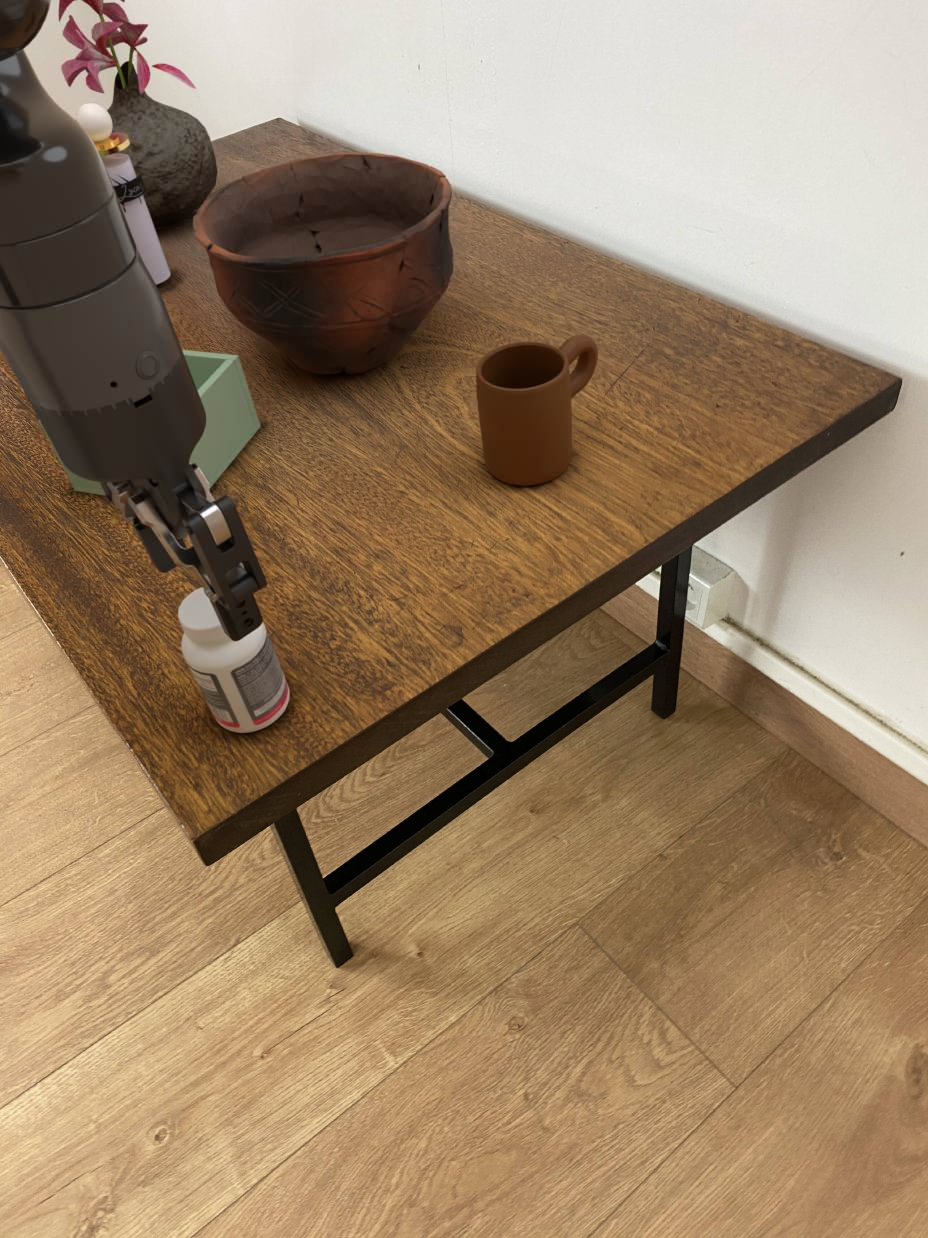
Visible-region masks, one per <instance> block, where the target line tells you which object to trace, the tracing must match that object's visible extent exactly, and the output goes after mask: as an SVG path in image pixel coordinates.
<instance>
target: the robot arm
mask: <svg viewBox="0 0 928 1238" xmlns="http://www.w3.org/2000/svg"><path fill="white" fill-rule="evenodd" d="M51 3H52V0H0V350H1V351H2V353H3V355H4V357H5V359H6V361H7V363H8V365H9V366H10V368H11V370H12V372H13V374H14V375H15V377H16V379H17V381H18V383H19V385H20V387H21V389H22V390H23V392H24V395H25V396H26V398H27V400H28V402H29V404H30V405H31V407H32V409H33V412H34V413H35V414H36V416H37V418H38V421H39V420H40V422H41V423H42V425H43V427H44V429H45V431H46V433H47V435H48V436H49V438H50V440H51V442H52V444H53V446H54V447H55V449H56V451H57V453H58V455H59V457H60V459H61V460H62V462H63V464H64V465H65V466H66V467H67V468H68V469H69V470H70V471H71V472H72V473H74V474H75V475H77V476H79V477H81V478H84V479H87V480H91V481H96V482H100V484H101V486H102V488H103V490H104V492H105V496H104V497H105V499H106V500H107V502H108V503H110V504H112V505H113V506H114V507H115V506H116V508H117V509H118V510H119V512H120V513H121V514H122V518H123V520H124V521H125V522H126V523H127V524H129V525H130V526H131V527H133V529H134V530H135V532H136V533H137V536H138V538H139V540H140V542H141V543H142V545H143V547H144V549H145V552H146V553H147V555H148V558H149V559H150V561H151V564H152V565H153V567H154V568H155V569H156V570H157V571H158V572H160V573H162V574H165V573H168V572H170V571H171V570H173V569H175V568H176V567H179V568H180V569H181V568H187V569H189V570H190V571H191V573H192V574H193V575H194V577H195V579H196V580H197V582H198V583H199V585H200V586H201V587H203V589H204V593H205V595H206V596H207V597H208V598H209V600H210V602H211V604H212V606H213V608H214V611H215V613H216V615H217V617H218V619H219V622H220V624H221V626H222V628H223V630H224V632H225V634H226V635H227V636H228V637H229V638H230V639H231V640H232V641H239V640H241V639H242V638H244V637H245V636H247V635H248V634H250V633H251V632H253V631H254V630H256V629H257V628H259V627H260V626H261V624H262V622H263V621H264V617H263V615H262V613H261V609H260V608H259V605H258V603H257V601H256V598H255V595H254V594H255V593H257V592H259V591H261V590H263V589H264V588H266V587H267V586H268V581H267V579H266V575H265V574H264V572H263V569H262V567H261V565H260V561H259V560H258V556H257V555H256V552H255V550H254V548H253V545H252V542H251V540H250V538H249V535H248V532H247V530H246V528H245V526H244V523H243V521H242V519H241V516H240V513H239V511H238V509H237V505H236V503H235V502H234V501H233V500H232V499H231V498H230V497H229V496H228V495H226V494H223V495H222V496H220V497H218V498H216V499H215V498H214V496H213V495H212V493H211V490H210V489H211V488H210V484H209V482H208V480H207V479H206V477H205V476H204V474H203V473H202V471H201V469H200V468H199V467H198V465H197V464H196V463H194V462H191V463H189V460H190V457H191V454H192V452H193V450H194V448H195V446H196V445H197V443H198V442H199V440H200V439H201V437H202V435H203V433H204V430H205V426H206V412H205V409H204V406H203V404H202V401H201V398H200V396H199V393H198V391H197V388H196V385H195V383H194V380H193V377H192V375H191V372H190V369H189V367H188V364H187V362H186V359H185V356H184V354H183V351H182V350H183V349H182V345H181V343H180V340H179V339H178V336H177V333H176V330H175V327H174V324H173V322H172V320H171V317H170V315H169V312H168V309H167V307H166V305H165V301H164V299H163V297H162V294H161V292H160V289H159V288H158V285H157V284H155V282H154V280H153V278H152V277H151V275H150V273H149V271H148V269H147V268H146V266H145V264H144V262H143V260H142V258H141V256H140V253H139V251H138V249H137V247H136V244H135V241H134V239H133V236H132V234H131V231H130V228H129V226H128V223H127V221H126V218H125V215H124V213H123V210H122V208H121V205H120V202H119V200H118V197H117V195H116V192H115V190H114V188H113V185H112V182H111V179H110V177H109V174H108V172H107V169H106V167H105V165H104V162H103V160H102V158H101V156H100V154H99V152H98V150H97V148H96V146H95V145H94V143H93V141H92V139H91V138H90V136H89V135H88V133H87V132H86V131H85V129H84V128H83V127H82V126H81V125H80V124H79V123H78V122H77V121H76V118H74V117H73V116H71V114H69V113H68V112H67V111H65V109H63V108H62V107H61V106H60V105H59V104H57V102H55V100H54V99H53V98H52V97H51V96H50V94H49V93H48V91H47V90H46V88H45V87H44V85H43V84H42V83H41V81H40V79H39V77H38V75H37V73H36V71H35V69H34V67H33V65H32V63H31V61H30V59H29V57H28V55H27V54H26V51H25V49H26V48H27V47H28V46H29V45H30V44H31V43H32V42H33V41H34V40H35V39H36V37H37V36H38V34H39V33H40V32H41V30H42V28H43V26H44V24H45V23H46V20H47V17H48V14H49V12H50V8H51ZM185 537H186V539H187V540H188V542H190V543H191V545H192V546H191V547H187V544H186V543H185V540H184V538H185ZM263 623H264V622H263Z"/></svg>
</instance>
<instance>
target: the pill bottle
mask: <svg viewBox="0 0 928 1238" xmlns="http://www.w3.org/2000/svg"><path fill="white" fill-rule="evenodd" d="M177 618H178V622H179V624H180V626H181V629H182V630H183V634H182V637H181V643H180V644H181V645H180V647H181V653H182V656H183V659H184V661H185V662H186V665H187V667H188V668H189V670H190V672H191V674H192V676H193V678H194V681H195V682H196V684H197V686H198V687H199V690H200V692H201V694H202V696H203V697H204V699H205V702H206V704H207V706H208V709H209V710H210V711H211V713H212V715H213V717H214V718H215V720H216V722H217V723H218V724H219V726H221V727H222V728H224V729H225V730H227V731H231V732H233V733H239V734H246V733H248V734H249V733H254V732H256V731H260V730H262V729H265V728H267V727H268V726H270V725H271V724H273V723H275V722H276V721H277V720H278V719H279V718H280V717H281V716H282V715H283V713H284V712H285V711H286V709H287V707H288V704H289V702H290V696H291V695H290V693H291V692H290V687H289V684H288V681H287V678H286V676H285V674H284V671H283V668H282V666H281V664H280V662H279V658H278V656H277V653H276V651H275V649H274V647H273V646H274V645H273V643H272V641H271V638H270V636H269V633H268V630H267V628H266V626H265V625H266V624H264V622H262V624H261V626H260V627H259V628H257V629H256V630H254V631H253V632H251V633H250V634H248V635H247V636H245V637H244V638H242V639H241V640H239V641H232V640H231V639H230V638H229V637H228V636H227V635H226V634H225V632H224V630H223V628H222V626H221V624H220V622H219V619H218V617H217V615H216V613H215V611H214V608H213V606H212V604H211V602H210V600H209V598H208V597H207V596H206V595H205V593H204V589H203V587H202V586H201V587H199V588H197V589H195V590H193V591H192V592H190V593H189V594H188V595H186V596H185V598H184V599H183V600H182V601H181V603H180V604H179V607H178V610H177Z"/></svg>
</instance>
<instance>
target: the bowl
mask: <svg viewBox="0 0 928 1238" xmlns="http://www.w3.org/2000/svg"><path fill="white" fill-rule="evenodd" d="M452 195H453V193H452V186H451V184H450V180H449V179H448V178H447V175H445V173H443V172H442V170H440V169H438V168H436V167H434V166H432V165H428V164H427V163H423V162H420V161H417V160H412V159H409V158H405V157H403V156H399V155H393V154H386V153H378V152H375V153H374V152H336V153H329V154H322V155H317V156H316V155H315V156H309V157H303V158H297V159H293V160H290V161H286V162H283V163H279V164H277V165H273V166H270V167H266V168H263V169H261V170H259V171H256V172H252V173H249V174H247V175H242V176H241V178H240V179H235V180H234V181H231V182H229V183H228V184H225V185H223V186H222V187H220V188H218V189H217V190H216V191H215V192H213V194H212V195H209V196H208V197H207V198H206V199H205V200H204V202H203V203H202V204H201V205H200V206H199V207H198V208H197V209H198V210H197V211H196V212H195V214H194V215H193V216H192V218H193V219H192V229H193V232H194V234H195V237H196V239H197V241H198V242H199V244H200V245H201V246H202V247H203V248H204V249H205V251H206V253H207V256H208V260H209V261H208V262H209V266H210V267H211V270H212V273H213V279H214V282H215V287H216V292H217V294H218V296H219V298H220V299H221V301H222V302H223V305H224V306H225V307H226V308H227V310H228V311H229V313H230V314H232V316H234V317H235V319H236V320H237V322H239V323H240V324H242V325H243V326H245V328H247V329H249V331H252V332H253V333H254V334H256V335H257V336H258V337H260V338H262V339H263V340H264V341H266V342H267V343H269V345H271V346H273V347H274V348H276V349H277V350H278V351H280V353H282V354H283V355H285V356H286V357H288V358H289V359H290V360H291V361H292V362H293V363H294V364H295V365H296V366H297V367H298V368H300V369H302V370H304V371H307V372H310V373H314V374H318V375H334V374H340V373H342V372H344V373H346V374H347V375H352V374H353V375H354V374H361V373H364V372H367V371H369V370H371V369H374V368H377V367H379V366H381V365H383V364H384V363H386V362H387V361H389V360H391V359H392V358H393V357H394V356H397V354H398V353H399V352H400V351H401V350H402V349H403V347H404V346H405V345H406V343H407V342H408V340H409V339H411V337H412V335H413V334H414V333H415V332H416V331H417V330H418V328H419V327H420V326H421V324H422V323H423V321H424V320H425V319H426V318H427V317H428V315H430V313H431V312H432V311H433V309H434V307H435V306H436V305H437V303H438V302H439V301H440V299H441V298H442V297H443V295H444V294H445V292H446V291H447V289H448V287H449V284H450V283H451V278H452V275H453V274H454V248H453V245H452V242H451V235H450V226H449V225H450V223H449V222H450V221H449V219H450V218H449V217H450V215H449V214H450V213H449V212H450V209H449V208H450V204H451V201H452V197H453V196H452Z"/></svg>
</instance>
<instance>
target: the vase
mask: <svg viewBox="0 0 928 1238" xmlns="http://www.w3.org/2000/svg"><path fill="white" fill-rule="evenodd" d="M75 1H77V0H58V22H59V23H60V22H61V20H62V18H63V15H64V14H65V12H66V10H67V8H68V7H69V6H70V5H71V4H72V3H74V2H75ZM81 1H82V2H83V3H85V4H86V5H88V7H90V8H91V9H92V10H93V11H94V12H95V13H96V14H97V15H98V17H99V20H100V21H99V22H96V23H94V25H93V27H92V28H91V39H92V40H93V41H94V42H92V41H91V40H90V39H89V38H88V37H87V36H86V35H85V34H84V32H82V30H81V29H80V28H79V25H78V24H77V22H76V21H75V19H74V16H73V15H71V14H69V15H68V21H67V22H66V24H65V26H64V27H63V30H62V36H63V38H65V40H66V41H67V42H68V43H69V44H71V45H72V46H73V47H76V48H77V49H80V51H79V53H77V55H76V56H75V58H72V59H69V60H65V62H63V64H61V68H60V69H61V73H62V76H63V77H64V81H65V82H66V83H67V86H68V87H69V88H71V86H72V85H73V83H74V81H75V80H76V78H77V77H78V76H79V75H80V74H81V73H82V72H84V71H85V72H86V73H87V75H86V77H85V85H86V86H87V87H88V88H89V90H91V91H93V92H96V93H99V94H105V90H104V88H103V86H102V83H101V81H100V78H99V73H100V72H102V71H105V70H107V69H111V68H116V69H117V72H116V75H115V77H114V83H113V94H112V102H111V104H110V106H109V107H108V108H107V109H106V110H107V111H108V113H109V114H110V116H111V119H112V123H113V128H112V132H120V133H125V134H127V135H128V137H129V140H130V144H129V146H128V147H126V148H125V149H123V150H121V151H119V152H117V153H114V154H118V153H122V154H127V155H129V157H130V160H131V162H132V165H133V168H134V171H135V174H136V177H137V176H138V175H139V174H140V173H141V176H142V179H143V182H144V184H145V187H146V194H147V195H146V194H145V193H144V194H143V196H144V199H145V202H146V205H147V208H148V211H149V213H150V216H151V219H152V222H153V225H154V228H155V230H163V229H165V230H166V229H170V228H174V227H175V228H176V227H178V226H180V225H183V224H185V223H187V222H188V221H190V220H191V219H192V218H193V217H194V211H195V210H197V209H199V208H200V207H201V205H202V204H203V203H204V202H205V201H206V200H207V199H208V198H209V196H210V194H211V193H212V192H213V190H214V189H215V187H216V186H217V185H216V184H217V178H218V172H219V171H218V166H217V159H216V155H215V150H214V147H213V143H212V140H211V136H210V135H209V133H208V130H207V128H206V126H204V124H203V123H202V122H201V121H200V120H199V119H198V118H196V117H195V116H193V115H192V114H190V113H188V112H187V111H184V110H181V109H178V108H176V107H173V106H170V105H167V104H165V103H161V102H160V101H157V100H154V99H153V98H152V97H150V96H149V95H148V93H147V92H146V88H147V87H148V85H149V83H150V80H151V70H150V69H151V68H150V65H149V64H148V62H147V60H146V59H145V57H144V56H143V55H142V54H141V52H140V51H139V50H138V49H137V47H139V46H141V45H143V44H146V43H147V42H148V37H147V36H142V35H143V33H144V32H145V30H146V29H147V28H148V27H149V24H148V23H137V24H136V23H132V22H130V20H129V17H128V16H127V14H126V11H125V10H124V9H123V7H122V6H121V5H120V4H119V3H117V2H114V1H113V2H104V1H105V0H81ZM120 2H122V3H125V2H126V0H120ZM104 16H106V17H107V18H108V19H109V20H110V21H106V20H105V18H104ZM118 29H119V30H120V31H119V30H118ZM123 43H124V44H126V45H127V46H128V47H129V55H128V60H127V61H125V62H123V63H122V64H121V65H120V62H119V59H118V56H117V54H116V50H115V46H117V45H119V44H123ZM108 49H110V51H109V50H108ZM134 52H136V68H135V66H134V64H133V59H134ZM151 67H152V68H154V69H157V70H160V71H162V72H165V73H166V74H168V75H171V76H172V77H174V78H176V79H177V80H179V81H181V82H182V83H183V84H185V85H186V86H188V87H189V88H192V89H194V90H197V87H196V86H195V84H194V83H193V82H192V80H190V79H189V77H188V76H187V75H186V74H185V73H184V72H183V71H182V70H181V69H179V68H177V67H176V66H174V65H171V64H169V63H163V62H162V63H161V62H160V63H155V64H152V65H151ZM140 184H141V183H140ZM140 187H142V185H141V186H140ZM143 189H144V187H143ZM142 192H143V191H142ZM147 197H148V198H147Z"/></svg>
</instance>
